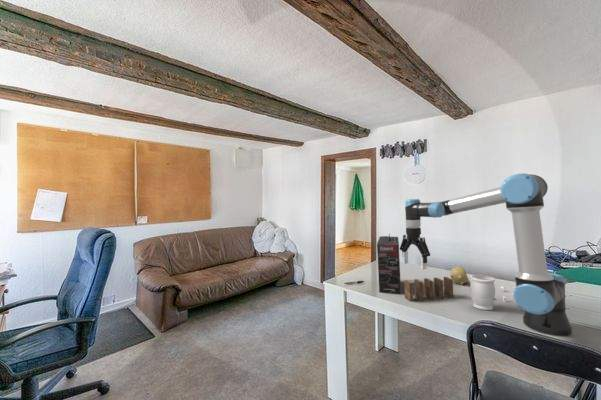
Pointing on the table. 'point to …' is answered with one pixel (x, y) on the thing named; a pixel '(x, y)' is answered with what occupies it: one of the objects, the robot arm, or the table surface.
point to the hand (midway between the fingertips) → (414, 266)
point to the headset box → (388, 264)
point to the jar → (482, 291)
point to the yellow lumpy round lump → (459, 275)
